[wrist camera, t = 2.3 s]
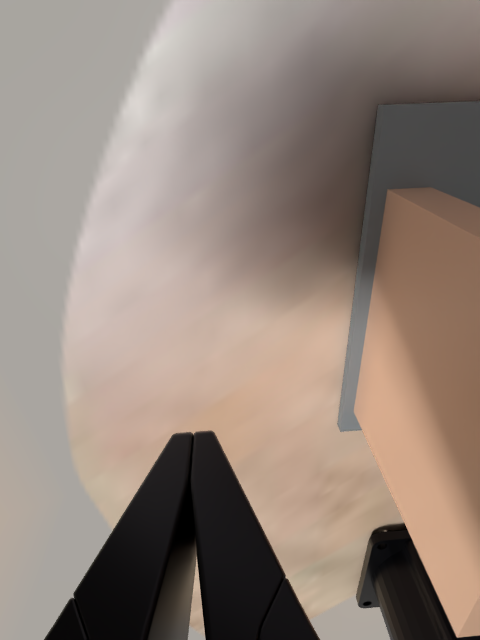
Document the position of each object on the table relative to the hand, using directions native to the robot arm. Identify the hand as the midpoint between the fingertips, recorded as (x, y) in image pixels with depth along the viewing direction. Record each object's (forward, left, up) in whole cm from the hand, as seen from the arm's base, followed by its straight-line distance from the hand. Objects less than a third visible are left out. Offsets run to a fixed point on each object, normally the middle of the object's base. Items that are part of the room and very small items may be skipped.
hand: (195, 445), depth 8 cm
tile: (0, -6, -5) cm, 8 cm away
